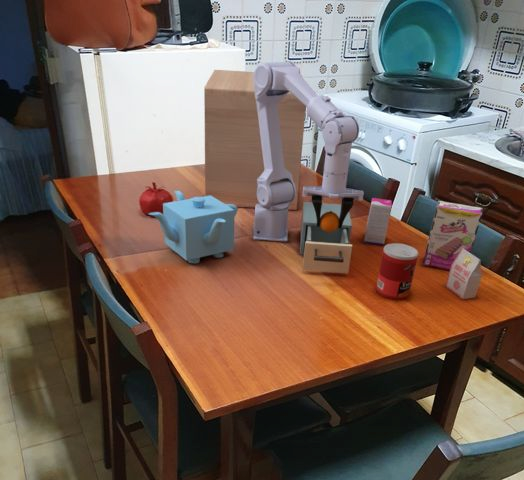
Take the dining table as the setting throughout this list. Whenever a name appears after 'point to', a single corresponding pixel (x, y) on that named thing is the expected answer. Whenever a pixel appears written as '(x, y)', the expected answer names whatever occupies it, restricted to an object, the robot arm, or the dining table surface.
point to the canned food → (396, 270)
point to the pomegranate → (154, 199)
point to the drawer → (327, 250)
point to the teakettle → (197, 226)
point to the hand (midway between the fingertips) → (328, 226)
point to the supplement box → (378, 221)
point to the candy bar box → (451, 233)
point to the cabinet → (311, 219)
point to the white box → (465, 275)
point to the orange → (329, 221)
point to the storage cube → (244, 138)
